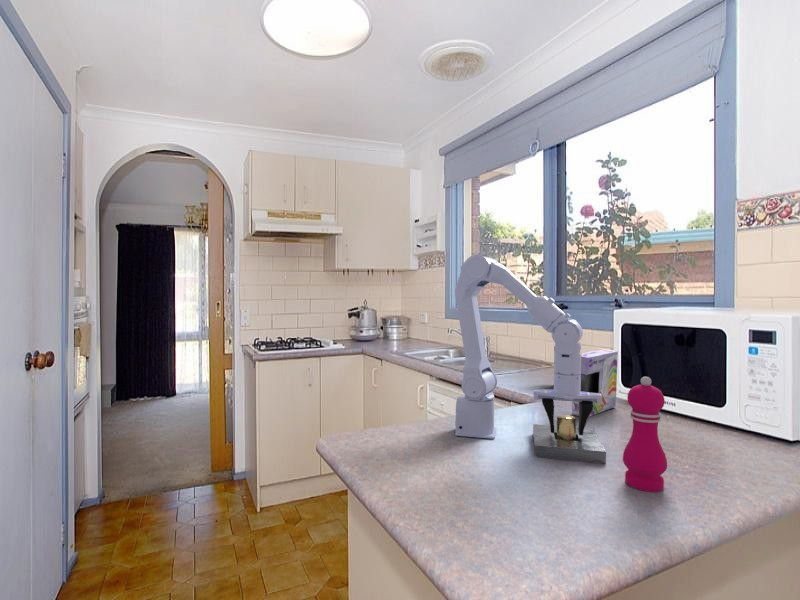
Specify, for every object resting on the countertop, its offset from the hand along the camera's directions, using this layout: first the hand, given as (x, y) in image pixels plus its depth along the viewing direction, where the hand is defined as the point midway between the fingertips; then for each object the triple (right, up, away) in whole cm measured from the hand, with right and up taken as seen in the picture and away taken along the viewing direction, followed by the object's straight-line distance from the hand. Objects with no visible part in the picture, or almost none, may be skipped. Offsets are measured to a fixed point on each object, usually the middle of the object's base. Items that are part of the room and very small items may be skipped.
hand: (566, 432), depth 103 cm
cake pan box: (+20, -3, +31) cm, 37 cm away
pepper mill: (+7, -4, -19) cm, 21 cm away
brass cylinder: (0, -3, 0) cm, 3 cm away
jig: (0, -3, 0) cm, 3 cm away
